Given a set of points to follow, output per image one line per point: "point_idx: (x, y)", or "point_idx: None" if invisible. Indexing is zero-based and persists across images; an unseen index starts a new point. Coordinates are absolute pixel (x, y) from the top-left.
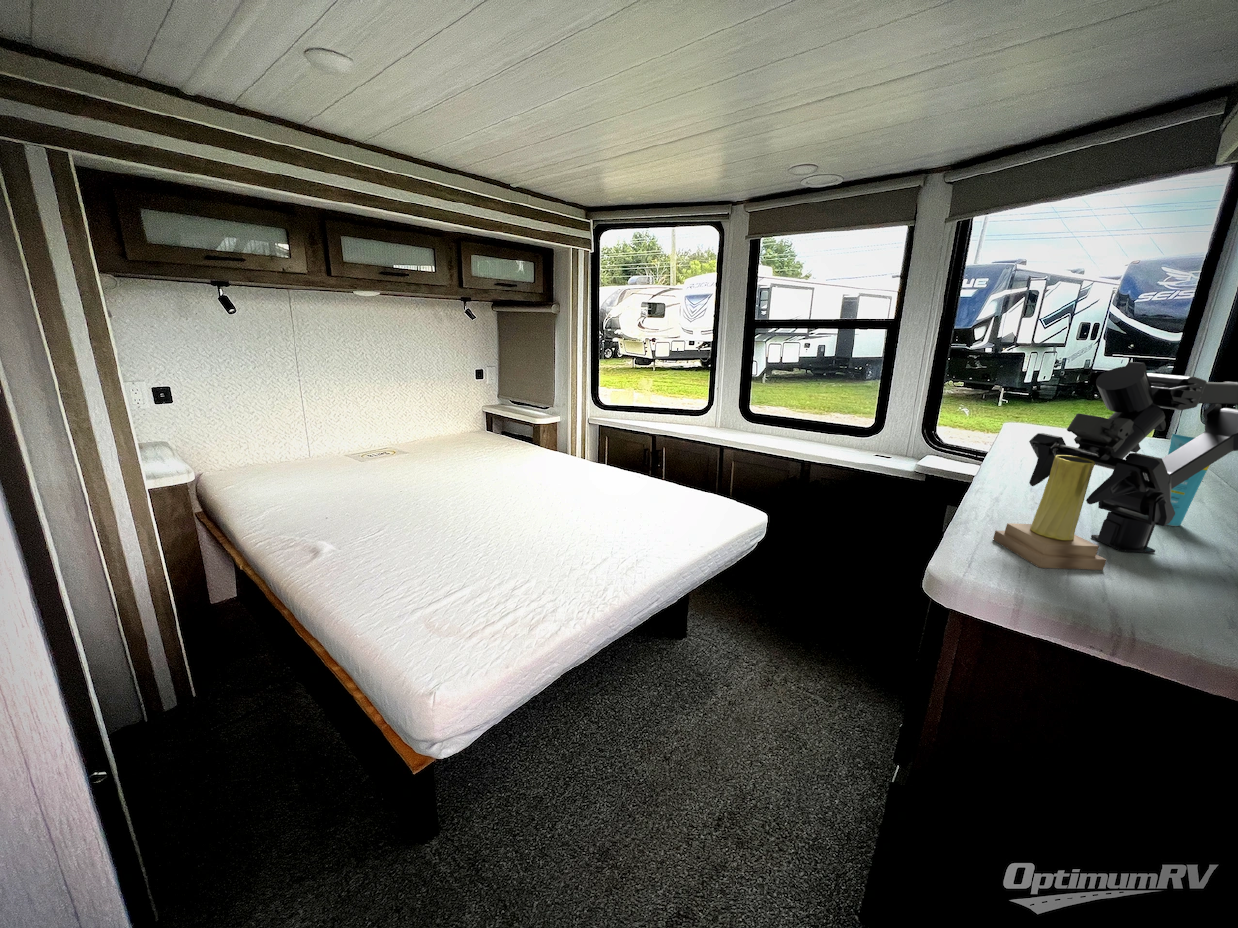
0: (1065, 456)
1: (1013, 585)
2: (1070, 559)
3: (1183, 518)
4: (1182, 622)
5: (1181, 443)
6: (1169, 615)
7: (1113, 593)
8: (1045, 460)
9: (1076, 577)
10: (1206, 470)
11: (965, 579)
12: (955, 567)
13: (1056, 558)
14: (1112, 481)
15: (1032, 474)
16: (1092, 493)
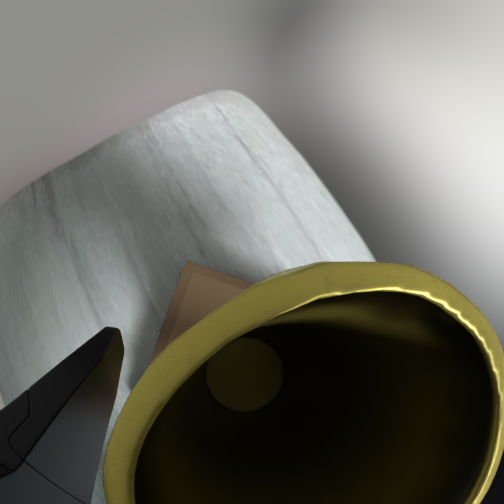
0: (467, 500)
1: (164, 147)
2: (161, 329)
3: None
4: (6, 290)
5: None
6: (18, 298)
7: (75, 296)
8: None
9: (134, 302)
10: None
11: (208, 102)
12: (243, 119)
13: (174, 295)
14: (9, 422)
15: None
16: (97, 352)
